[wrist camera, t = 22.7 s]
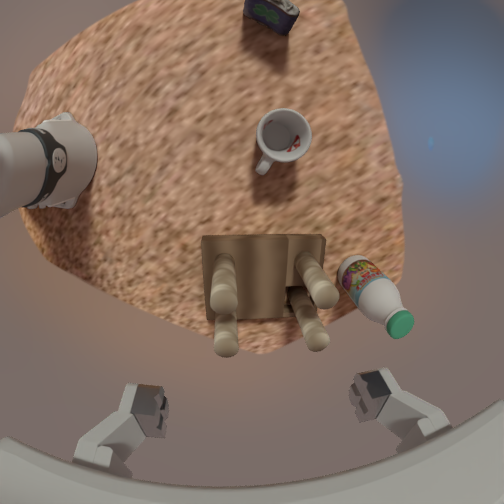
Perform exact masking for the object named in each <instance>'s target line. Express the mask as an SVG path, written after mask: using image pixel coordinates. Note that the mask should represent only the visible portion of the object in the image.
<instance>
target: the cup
mask: <svg viewBox="0 0 504 504" xmlns="http://www.w3.org/2000/svg"><path fill="white" fill-rule="evenodd" d="M256 140H257V143H258V146H259V147H260V149H261V151H262V152H263V155H262V157H261V159H260V160H259V162H258V164H257V166H256V172H257V173H258V174H260V175H264V174H265V173H266V172H267V171H268V170H269V168H270V167H271V165H272V163H273V162H274V161H278V162H292V161H295V160H297V159H299V158H301V157H302V156H303V155H304V154H305V153H306V152H307V150H308V149H309V147H310V144H311V140H312V133H311V128H310V126H309V124H308V122H307V120H306V119H305V118H304V117H303V116H302V115H301V114H300V113H298V112H296V111H294V110H291V109H286V108H280V109H275V110H272V111H270V112H268V113H267V114H266V115H264V116H263V118H262V119H261V120H260V122H259V124H258V126H257V130H256Z"/></svg>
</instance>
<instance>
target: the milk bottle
mask: <svg viewBox="0 0 504 504" xmlns="http://www.w3.org/2000/svg"><path fill="white" fill-rule="evenodd" d="M338 281H339V283H340V284H341V286H342V287H343V289H344V290H345V291H346V293H347V294H348V295H349V297H350V298H351V299H352V301H353V302H354V303H355V305H356V306H357V307H358V309H359V310H360V311H361V312H362V313H363V314H364V315H365V316H366V317H367V318H368V319H370V320H372V321H374V322H377V323H380V324H382V325H384V326H385V330H386V331H387V332H388V334H389V335H390V336H391V337H392V338H394V339H399V338H402V337H404V336H405V335H407V334H408V333H409V332H410V330H411V329H412V327H413V325H414V318H413V316H412V315H411V313H409V312H408V310H407V309H405V308H403V306H402V303H401V299H400V295H399V292H398V290H397V288H396V286H395V285H394V284H393V282H392V281H391V280H390V279H389V278H388V277H387V276H386V275H385V274H384V273H383V272H381V271H380V270H379V269H378V268H377V267H376V266H375V265H374V264H373V263H372V262H371V261H369V260H368V259H367V258H366V257H364V256H361V255H354V256H351V257H349V258H347V259H346V260H344V262H343V263H342V264H341V265H340V268H339V270H338Z"/></svg>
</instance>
